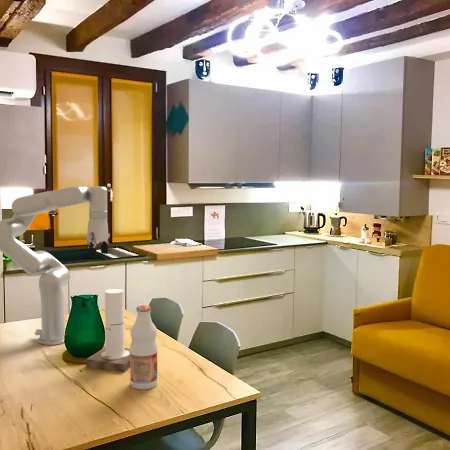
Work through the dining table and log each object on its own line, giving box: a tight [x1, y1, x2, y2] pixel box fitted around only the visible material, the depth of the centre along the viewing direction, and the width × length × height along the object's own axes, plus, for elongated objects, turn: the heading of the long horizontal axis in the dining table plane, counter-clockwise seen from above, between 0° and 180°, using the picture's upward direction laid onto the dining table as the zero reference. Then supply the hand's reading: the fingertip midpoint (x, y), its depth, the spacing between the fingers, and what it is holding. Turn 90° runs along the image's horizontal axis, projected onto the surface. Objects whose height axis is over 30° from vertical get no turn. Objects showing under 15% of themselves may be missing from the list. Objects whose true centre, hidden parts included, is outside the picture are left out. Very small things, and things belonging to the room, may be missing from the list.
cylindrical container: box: [104, 288, 125, 357], centre depth 205 cm, size 7×7×25 cm
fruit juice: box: [129, 304, 158, 391], centre depth 184 cm, size 9×9×28 cm
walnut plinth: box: [85, 346, 130, 373], centre depth 207 cm, size 16×16×3 cm
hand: (98, 255), depth 226 cm, fingers open, 9 cm apart
